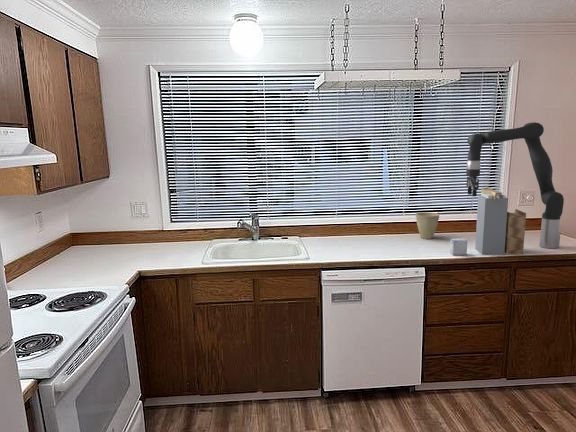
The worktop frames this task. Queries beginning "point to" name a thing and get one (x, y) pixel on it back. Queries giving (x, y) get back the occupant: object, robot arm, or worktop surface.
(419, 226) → the plant pot
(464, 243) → the medicine box
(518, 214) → the block
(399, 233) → the worktop surface
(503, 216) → the slot column
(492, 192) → the bar
